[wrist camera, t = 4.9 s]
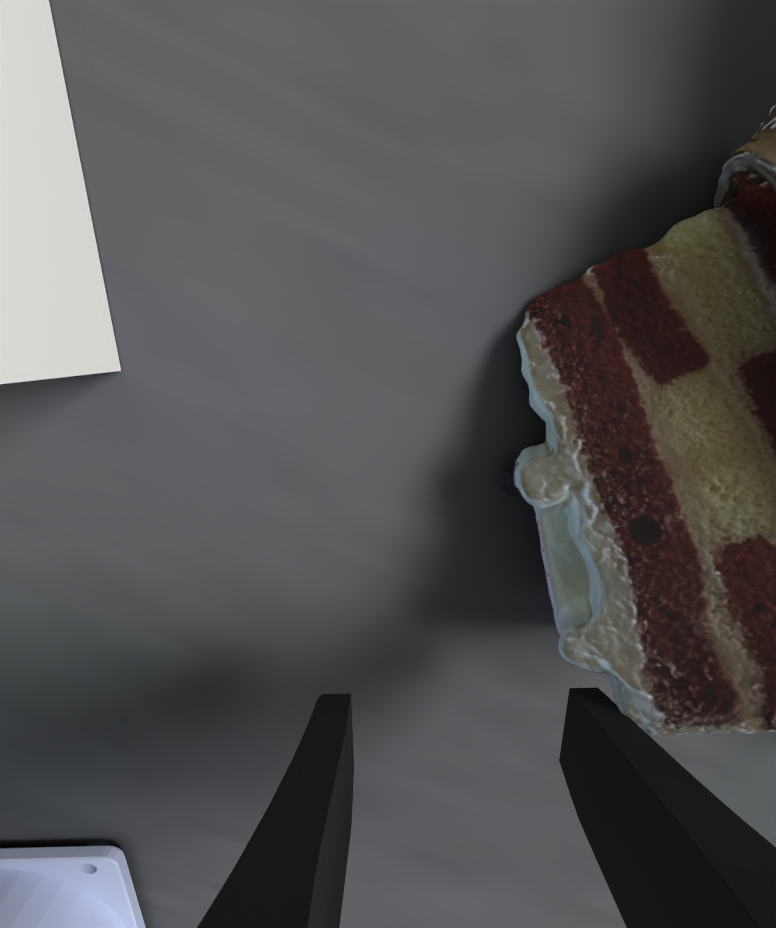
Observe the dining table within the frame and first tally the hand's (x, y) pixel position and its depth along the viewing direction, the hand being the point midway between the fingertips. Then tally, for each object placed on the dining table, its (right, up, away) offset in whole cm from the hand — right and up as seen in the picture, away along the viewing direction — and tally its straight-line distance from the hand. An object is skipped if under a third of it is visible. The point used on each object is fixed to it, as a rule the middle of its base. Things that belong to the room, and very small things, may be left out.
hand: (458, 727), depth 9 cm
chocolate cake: (+5, +6, +2) cm, 8 cm away
